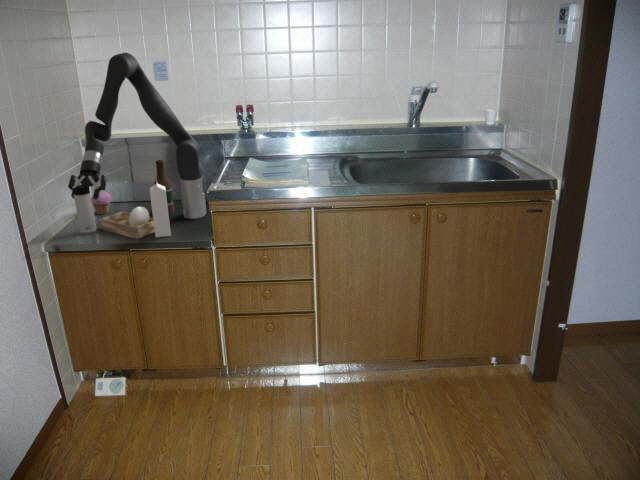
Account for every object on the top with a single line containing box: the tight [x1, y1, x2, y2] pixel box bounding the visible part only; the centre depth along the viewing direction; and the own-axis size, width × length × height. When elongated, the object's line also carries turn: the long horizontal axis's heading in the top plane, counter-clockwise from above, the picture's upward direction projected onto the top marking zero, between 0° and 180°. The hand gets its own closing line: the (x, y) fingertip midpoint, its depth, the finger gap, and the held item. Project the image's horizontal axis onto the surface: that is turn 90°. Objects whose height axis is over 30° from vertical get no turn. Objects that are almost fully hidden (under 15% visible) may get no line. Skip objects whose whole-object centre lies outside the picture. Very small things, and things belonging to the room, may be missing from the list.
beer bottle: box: [153, 159, 175, 215], centre depth 243 cm, size 8×8×24 cm
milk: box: [149, 183, 172, 238], centre depth 216 cm, size 6×6×22 cm
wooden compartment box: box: [98, 211, 155, 240], centre depth 225 cm, size 12×22×4 cm, turn 58°
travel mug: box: [73, 184, 98, 236], centre depth 220 cm, size 6×7×20 cm
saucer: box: [129, 206, 150, 227], centre depth 221 cm, size 10×1×10 cm, turn 148°
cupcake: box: [91, 191, 112, 215], centre depth 246 cm, size 9×9×10 cm
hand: (84, 198), depth 220 cm, fingers open, 8 cm apart
